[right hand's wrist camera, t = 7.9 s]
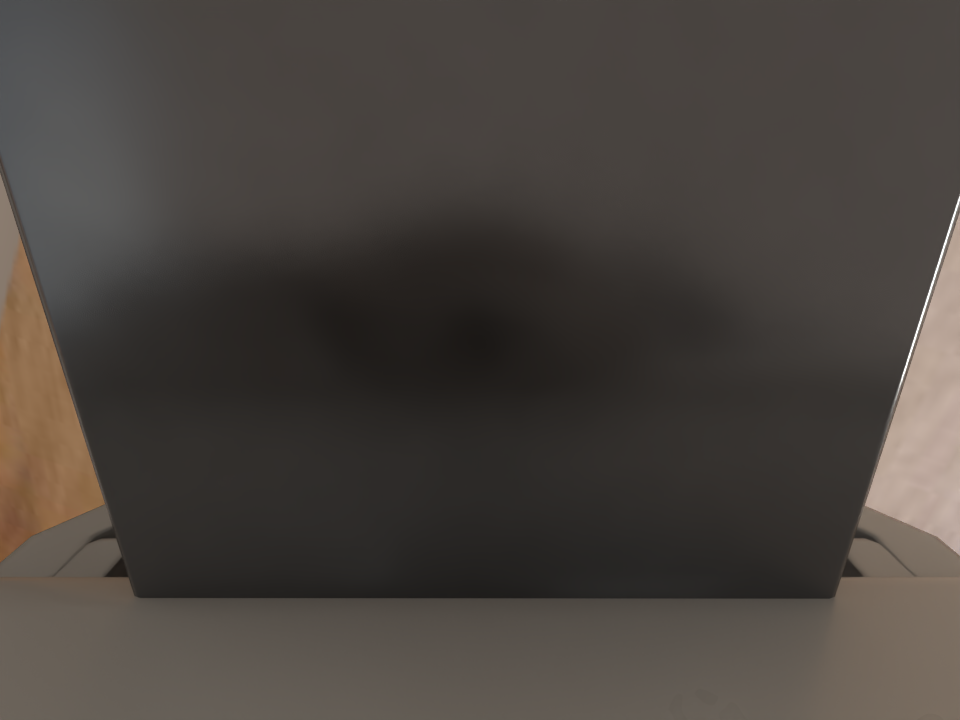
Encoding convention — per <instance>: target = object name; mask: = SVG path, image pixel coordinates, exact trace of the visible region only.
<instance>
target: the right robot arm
mask: <svg viewBox="0 0 960 720" xmlns="http://www.w3.org/2000/svg"><path fill="white" fill-rule="evenodd" d="M0 720H960V556H959V555H958V554H957V553H956V552H954V551H953V550H952V549H951V548H950V547H949V546H947V545H946V544H945V543H944V542H943V541H941V540H940V539H939V538H938V537H936V536H934V535H931V534H929V533H927V532H924V531H922V530H920V529H917V528H915V527H913V526H910V525H908V524H906V523H903V522H901V521H899V520H897V519H894V518H892V517H890V516H887V515H885V514H883V513H880V512H878V511H876V510H873V509H871V508H869V507H866V506H864V509H863V512H862V515H861V518H860V521H859V524H858V527H857V530H856V533H855V537H854V540H853V543H852V546H851V549H850V552H849V555H848V558H847V561H846V564H845V567H844V570H843V574H842V577H841V580H840V583H839V586H838V589H837V592H836V595H835V597H833V598H830V599H567V598H138V597H136V596H134V593H133V590H132V587H131V584H130V580H129V577H128V574H127V571H126V568H125V565H124V561H123V558H122V555H121V552H120V549H119V546H118V543H117V539H116V536H115V533H114V530H113V527H112V524H111V520H110V517H109V514H108V511H107V508H106V505H102V506H100V507H98V508H96V509H93V510H91V511H89V512H86V513H84V514H82V515H79V516H77V517H75V518H73V519H70V520H68V521H66V522H63V523H61V524H59V525H56V526H54V527H52V528H49V529H47V530H45V531H43V532H40V533H38V534H36V535H33V536H31V537H30V538H29V539H28V540H27V541H25V542H24V543H23V544H22V545H21V546H19V547H18V548H17V549H16V550H15V551H14V552H12V553H11V554H10V555H9V556H8V557H6V558H5V559H4V560H3V561H2V562H1V563H0Z"/></svg>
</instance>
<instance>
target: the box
mask: <svg viewBox="0 0 960 720" xmlns="http://www.w3.org/2000/svg"><path fill="white" fill-rule="evenodd" d="M0 173H1V176H2V180H3V183H4V186H5V189H6V192H7V195H8V199H9V202H10V205H11V208H12V211H13V214H14V218H15V221H16V224H17V227H18V230H19V233H20V236H21V240H22V243H23V246H24V249H25V252H26V255H27V259H28V262H29V265H30V268H31V271H32V274H33V277H34V281H35V284H36V287H37V290H38V293H39V296H40V300H41V303H42V306H43V309H44V312H45V315H46V319H47V322H48V325H49V328H50V331H51V334H52V337H53V341H54V344H55V347H56V350H57V353H58V356H59V360H60V363H61V366H62V369H63V372H64V375H65V378H66V382H67V385H68V388H69V391H70V394H71V397H72V401H73V404H74V407H75V410H76V413H77V416H78V419H79V423H80V426H81V429H82V432H83V435H84V438H85V442H86V445H87V448H88V451H89V454H90V457H91V461H92V464H93V467H94V470H95V473H96V476H97V479H98V483H99V486H100V489H101V492H102V495H103V498H104V502H105V505H106V508H107V511H108V514H109V517H110V520H111V524H112V527H113V530H114V533H115V536H116V539H117V543H118V546H119V549H120V552H121V555H122V558H123V561H124V565H125V568H126V571H127V574H128V577H129V580H130V584H131V587H132V590H133V593H134V596H136V597H138V598H567V599H830V598H833V597H835V595H836V592H837V589H838V586H839V583H840V580H841V577H842V574H843V570H844V567H845V564H846V561H847V558H848V555H849V552H850V549H851V546H852V543H853V540H854V537H855V533H856V530H857V527H858V524H859V521H860V518H861V515H862V512H863V509H864V506H865V503H866V499H867V496H868V493H869V490H870V487H871V484H872V481H873V478H874V475H875V472H876V469H877V465H878V462H879V459H880V456H881V453H882V450H883V447H884V444H885V441H886V438H887V435H888V432H889V428H890V425H891V422H892V419H893V416H894V413H895V410H896V407H897V404H898V401H899V398H900V394H901V391H902V388H903V385H904V382H905V379H906V376H907V373H908V370H909V367H910V364H911V361H912V357H913V354H914V351H915V348H916V345H917V342H918V339H919V336H920V333H921V330H922V327H923V323H924V320H925V317H926V314H927V311H928V308H929V305H930V302H931V299H932V296H933V293H934V290H935V286H936V283H937V280H938V277H939V274H940V271H941V268H942V265H943V262H944V259H945V256H946V252H947V249H948V246H949V243H950V240H951V237H952V234H953V231H954V228H955V225H956V222H957V219H958V215H959V212H960V0H0Z"/></svg>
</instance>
